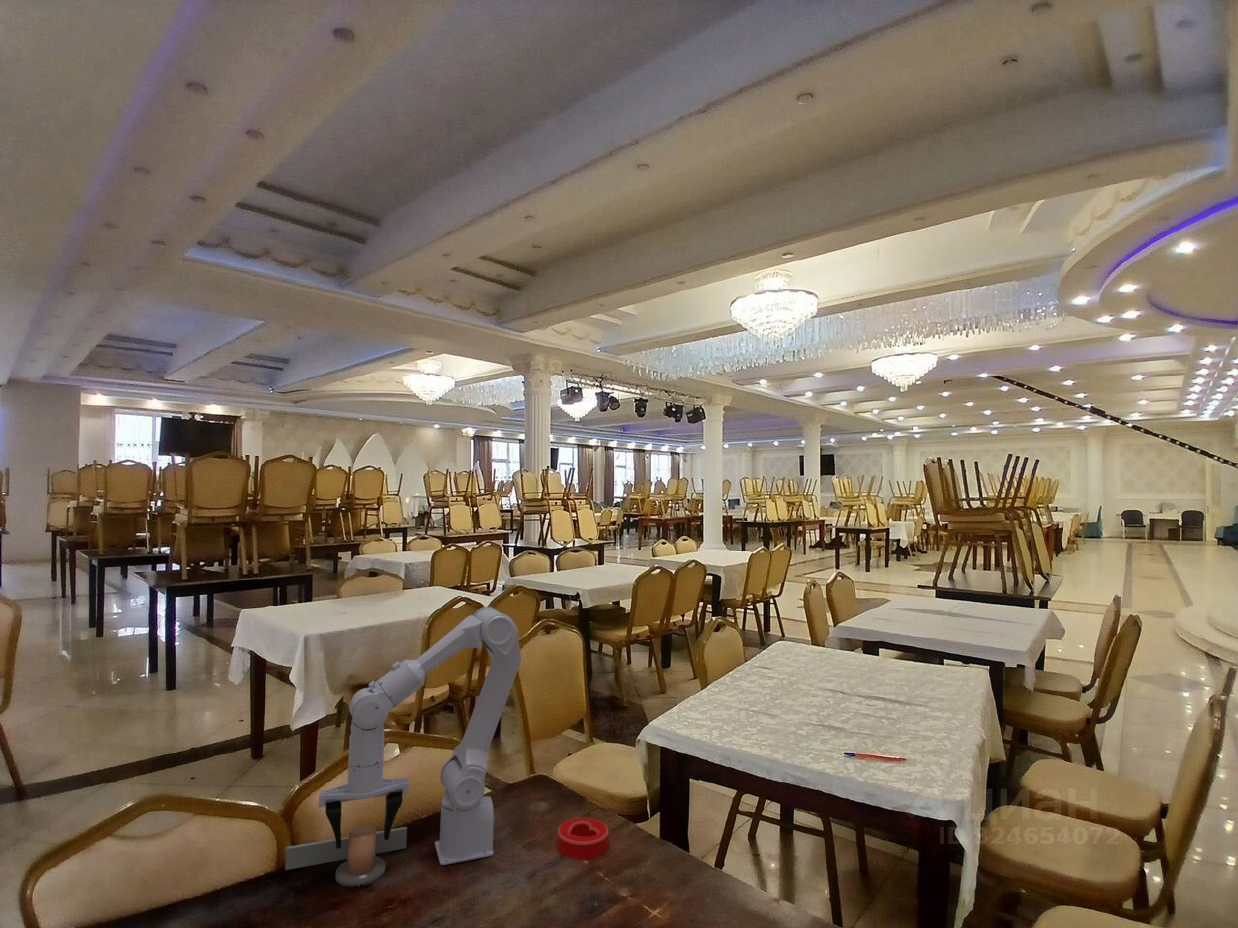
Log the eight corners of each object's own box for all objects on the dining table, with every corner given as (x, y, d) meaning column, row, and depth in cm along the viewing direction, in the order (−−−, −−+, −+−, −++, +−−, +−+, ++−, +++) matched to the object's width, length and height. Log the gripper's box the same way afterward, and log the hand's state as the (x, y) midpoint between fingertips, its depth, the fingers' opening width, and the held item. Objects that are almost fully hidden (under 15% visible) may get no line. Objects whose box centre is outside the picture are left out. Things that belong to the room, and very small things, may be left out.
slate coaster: (383, 856, 116) (383, 852, 116) (386, 880, 108) (386, 875, 109) (335, 865, 113) (335, 860, 113) (335, 890, 105) (335, 885, 105)
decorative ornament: (546, 849, 120) (547, 831, 120) (577, 828, 128) (578, 812, 128) (588, 866, 115) (588, 847, 115) (617, 843, 123) (618, 826, 123)
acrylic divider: (405, 845, 120) (406, 826, 120) (406, 848, 119) (406, 828, 119) (285, 867, 112) (286, 846, 112) (285, 869, 111) (286, 849, 111)
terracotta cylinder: (373, 859, 113) (375, 824, 114) (375, 872, 109) (377, 835, 110) (346, 864, 112) (348, 828, 112) (347, 877, 108) (349, 840, 108)
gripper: (407, 747, 118) (404, 822, 117) (321, 758, 113) (317, 837, 112) (411, 761, 112) (408, 841, 111) (319, 773, 106) (315, 858, 105)
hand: (362, 841), depth 111 cm, fingers open, 7 cm apart
